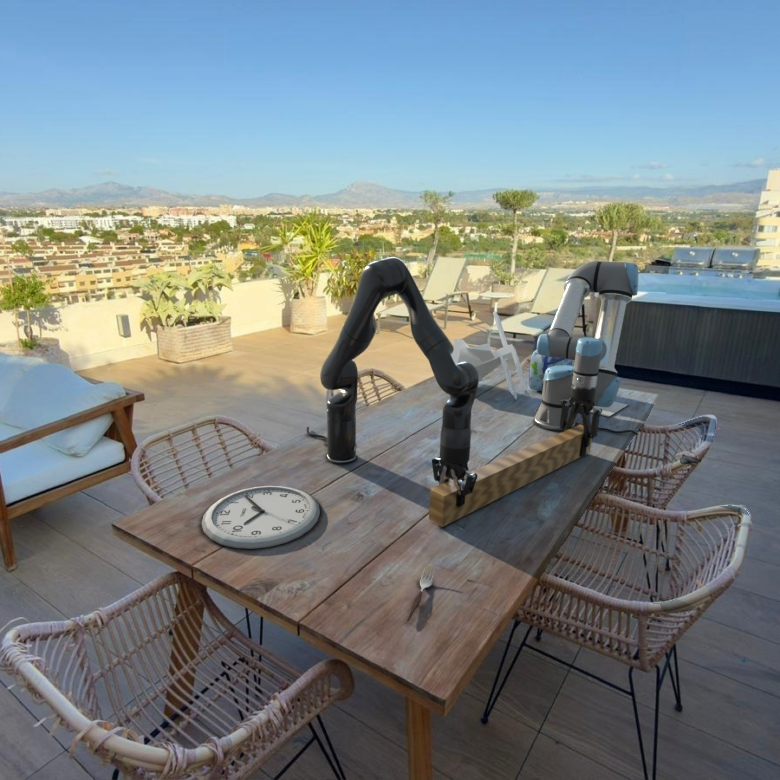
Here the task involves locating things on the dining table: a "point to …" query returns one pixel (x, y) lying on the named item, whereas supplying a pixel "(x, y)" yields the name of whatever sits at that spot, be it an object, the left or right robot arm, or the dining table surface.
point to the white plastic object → (490, 358)
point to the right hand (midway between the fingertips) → (574, 452)
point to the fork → (424, 584)
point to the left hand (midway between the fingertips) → (451, 501)
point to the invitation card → (611, 408)
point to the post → (507, 475)
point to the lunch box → (542, 368)
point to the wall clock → (260, 517)
